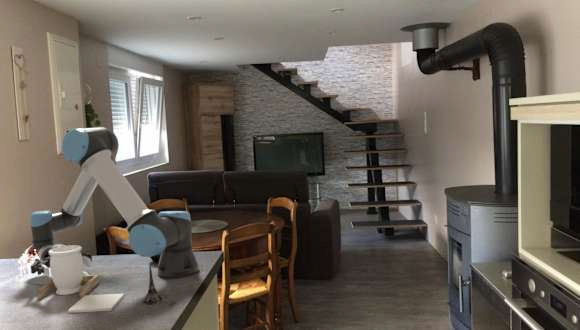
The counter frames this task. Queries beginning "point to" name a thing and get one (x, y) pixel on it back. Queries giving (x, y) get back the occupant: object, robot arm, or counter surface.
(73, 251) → the jar
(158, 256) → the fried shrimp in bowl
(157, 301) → the eiffel tower figurine
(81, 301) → the ceramic tile
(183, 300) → the counter surface
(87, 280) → the oak cradle
